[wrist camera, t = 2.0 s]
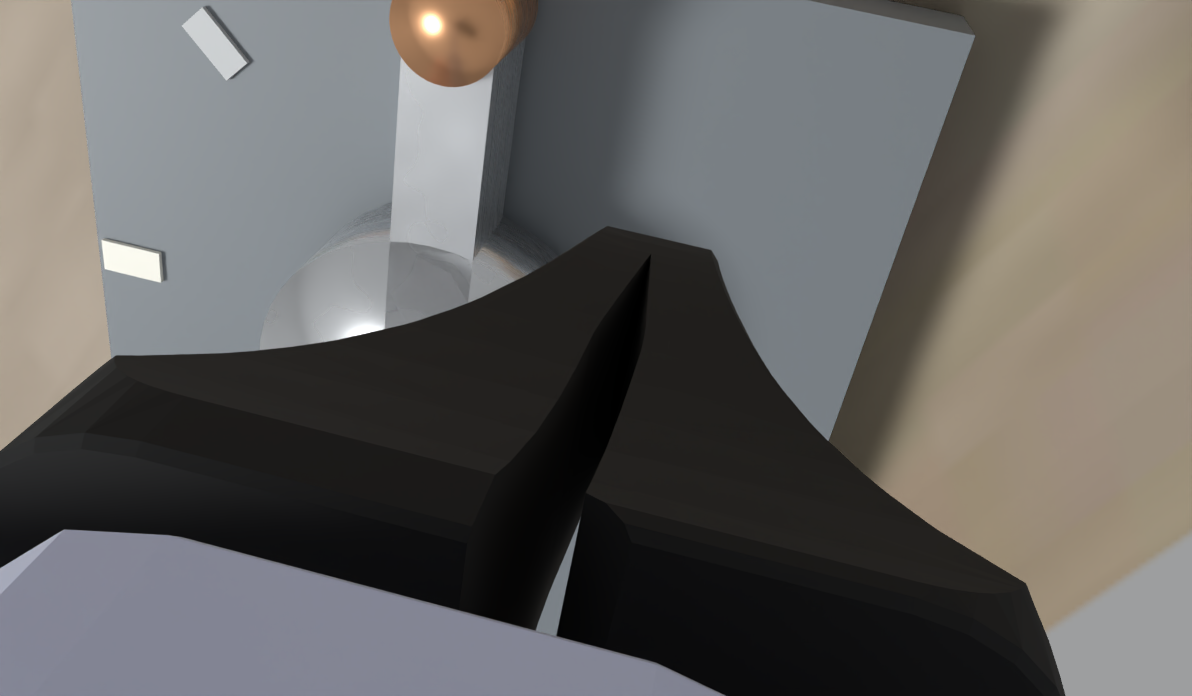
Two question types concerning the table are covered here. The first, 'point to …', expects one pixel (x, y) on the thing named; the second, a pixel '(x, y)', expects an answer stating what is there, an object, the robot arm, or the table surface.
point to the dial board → (521, 156)
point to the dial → (428, 185)
